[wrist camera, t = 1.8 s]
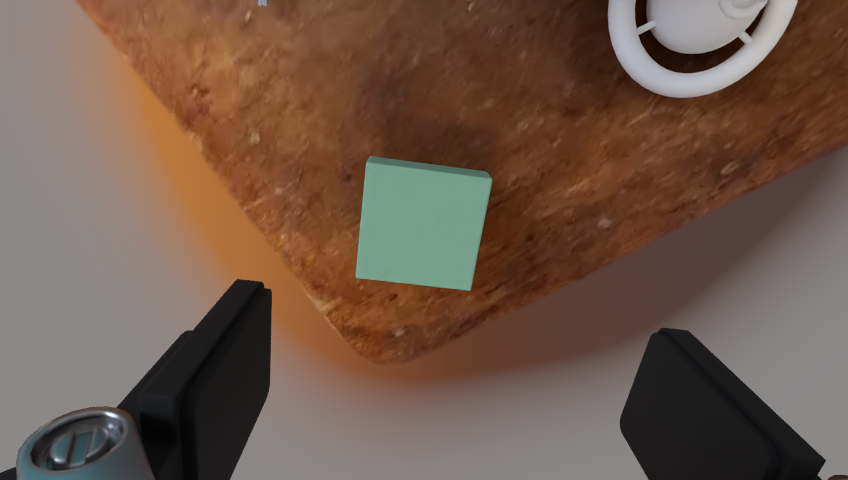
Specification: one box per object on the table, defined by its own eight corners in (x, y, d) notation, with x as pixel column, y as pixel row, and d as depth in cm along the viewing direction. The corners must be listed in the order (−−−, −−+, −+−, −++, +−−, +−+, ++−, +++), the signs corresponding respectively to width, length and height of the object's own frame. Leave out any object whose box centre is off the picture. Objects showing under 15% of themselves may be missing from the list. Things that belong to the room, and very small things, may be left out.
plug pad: (363, 246, 24) (355, 278, 20) (373, 146, 22) (366, 161, 18) (461, 257, 24) (471, 291, 21) (479, 161, 23) (493, 178, 19)
